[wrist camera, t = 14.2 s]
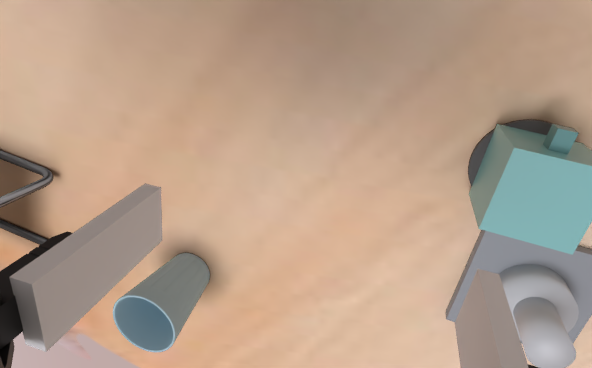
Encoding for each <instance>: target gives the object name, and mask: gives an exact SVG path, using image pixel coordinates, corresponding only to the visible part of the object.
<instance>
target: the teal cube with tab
mask: <svg viewBox="0 0 592 368" xmlns="http://www.w3.org/2000/svg"><path fill="white" fill-rule="evenodd" d="M577 135H578V132H577V131H575V130H574V129H573V128H570V127H565V126H561V125H556V124H552V126H551V128H550V130H549V132H548V134H547V135H543V134H539V133H535V132H530V131H526V130H522V129H517V128H513V127H509V126H504V125H500V124H497V125H496V128H495V130H494V133H493V135H492V138H491V140H490V143H489V145H488V148H487V150H486V153H485V155H484V158H483V160H482V162H481V165H480V167H479V170H478V172H477V175H476V177H475V180H474V182H473V185H472V187H471V190H470V192H469V196H470V199H471V203H472V206H473V210H474V214H475V217H476V221H477V224H478V228H479V229H481V230H485V231H489V232H492V233H496V234H499V235H503V236H507V237H510V238H514V239H518V240H521V241H525V242H528V243H532V244H536V245H539V246H543V247H546V248H550V249H554V250H557V251H561V252H564V253H568V254H572V255H573V253H574V251H575V250H576V248H577V246H578V244H579V243H580V241H581V239H582V237H583V236H584V234H585V232H586V231H587V229H588V227H589V225H590V224H591V222H592V150H590V149H589V148H588V147H586V146H585V145H584V144H583V143H578V142H574V141H575V139H576V137H577Z"/></svg>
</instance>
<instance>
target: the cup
mask: <svg viewBox="0 0 592 368" xmlns="http://www.w3.org/2000/svg"><path fill="white" fill-rule="evenodd" d="M209 279H210V272H209V269H208V267H207V265H206V264H205V262H204V261H203V260H202V259H201V258H199V257H198V256H196V255H194V254H191V253H181V254H179V255H177V256H175V257H174V258H173V259H171V260H170V261H169V262H167V263H166V264H165V265H163V266H162V267H161V268H159V269H158V270H157V271H155V272H154V273H153V274H151V275H150V276H149V277H147V278H146V279H145V280H144V281H142V282H141V283H140V284H138V285H137V286H136V287H134V288H133V289H131V290H130V291H129V292H128V293H126V294H125V295H124V296H122V297H121V298H120V299H118V300H117V302H116V303H115V305H114V308H113V318H114V321H115V324H116V326H117V328H118V329H119V331H120V332H121V334H122V335H123V336H124V337H125V338H126V339H127V340H128V341H129V342H131V343H132V344H133V345H135V346H137V347H139V348H141V349H143V350H146V351H150V352H163V351H166V350H168V349H169V348H170V347H171V346H172V345H173V343H174V342H175V340H176V338H177V336H178V335H179V333H180V331H181V329H182V328H183V326H184V324H185V322H186V321H187V319H188V317H189V315H190V314H191V312H192V310H193V309H194V307H195V305H196V303H197V302H198V300H199V298H200V296H201V295H202V293H203V291H204V289H205V288H206V286H207V284H208V282H209Z"/></svg>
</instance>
